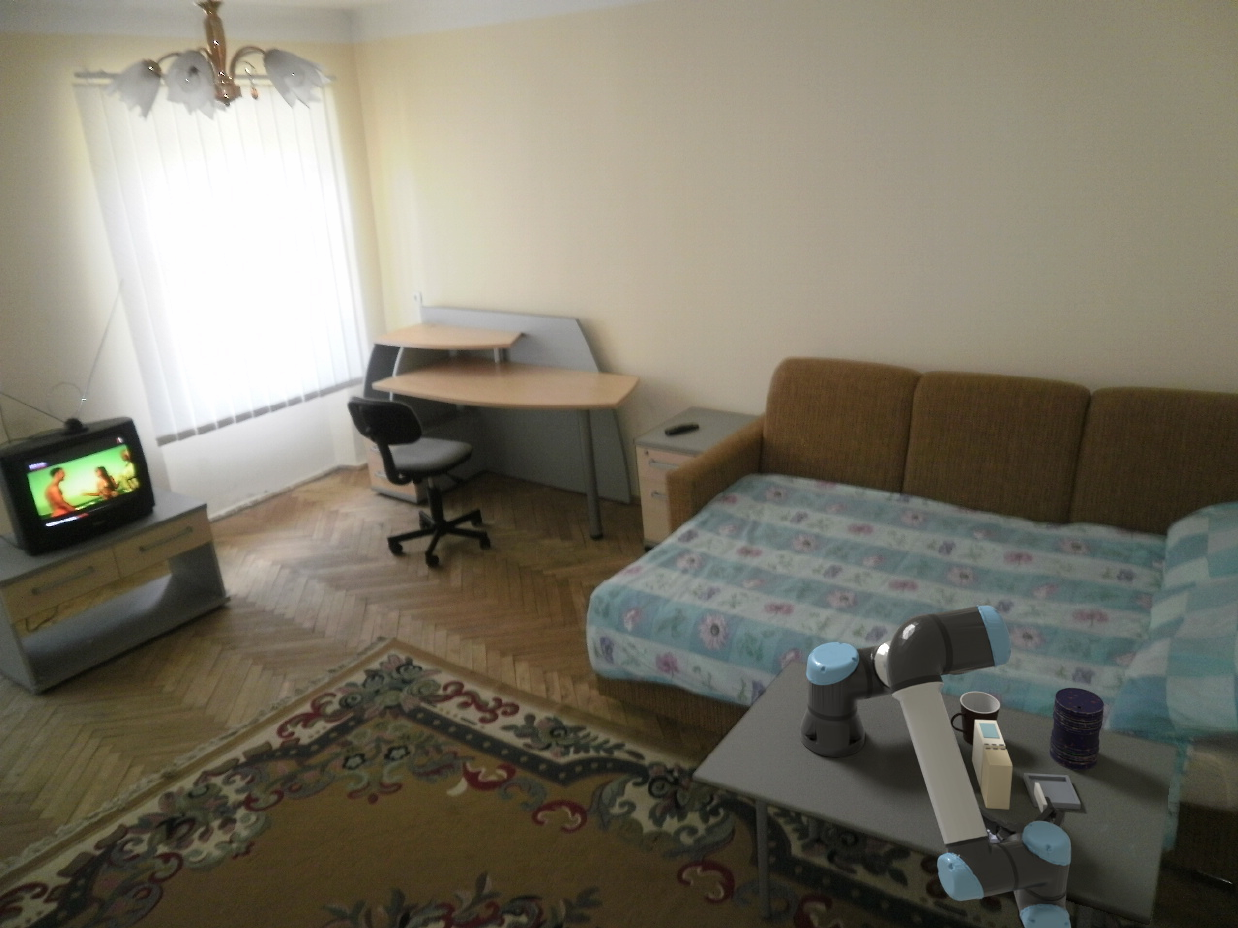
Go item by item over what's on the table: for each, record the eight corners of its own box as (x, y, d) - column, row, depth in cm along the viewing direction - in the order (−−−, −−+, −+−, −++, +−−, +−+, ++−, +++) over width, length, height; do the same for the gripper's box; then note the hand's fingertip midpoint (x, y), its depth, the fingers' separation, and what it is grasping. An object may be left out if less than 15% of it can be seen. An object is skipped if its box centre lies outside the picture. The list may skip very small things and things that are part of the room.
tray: (1034, 806, 188) (1034, 801, 187) (1023, 778, 196) (1023, 772, 196) (1080, 809, 186) (1080, 803, 186) (1067, 780, 194) (1068, 775, 194)
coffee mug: (991, 727, 214) (993, 691, 210) (1002, 749, 205) (1005, 713, 202) (940, 727, 215) (942, 691, 212) (949, 749, 207) (952, 713, 203)
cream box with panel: (980, 787, 194) (983, 744, 191) (972, 760, 203) (974, 718, 199) (1001, 788, 194) (1005, 745, 190) (992, 761, 202) (996, 719, 198)
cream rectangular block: (986, 807, 188) (989, 764, 185) (980, 790, 194) (984, 747, 190) (1008, 809, 188) (1012, 765, 184) (1002, 791, 193) (1006, 748, 189)
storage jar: (1050, 738, 208) (1055, 683, 203) (1097, 748, 204) (1104, 692, 199) (1047, 764, 200) (1053, 707, 195) (1097, 775, 195) (1104, 717, 190)
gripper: (955, 873, 169) (937, 796, 189) (1097, 883, 165) (1064, 804, 184) (957, 841, 167) (939, 767, 187) (1101, 851, 162) (1067, 774, 182)
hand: (1001, 785), depth 185 cm, fingers open, 13 cm apart
